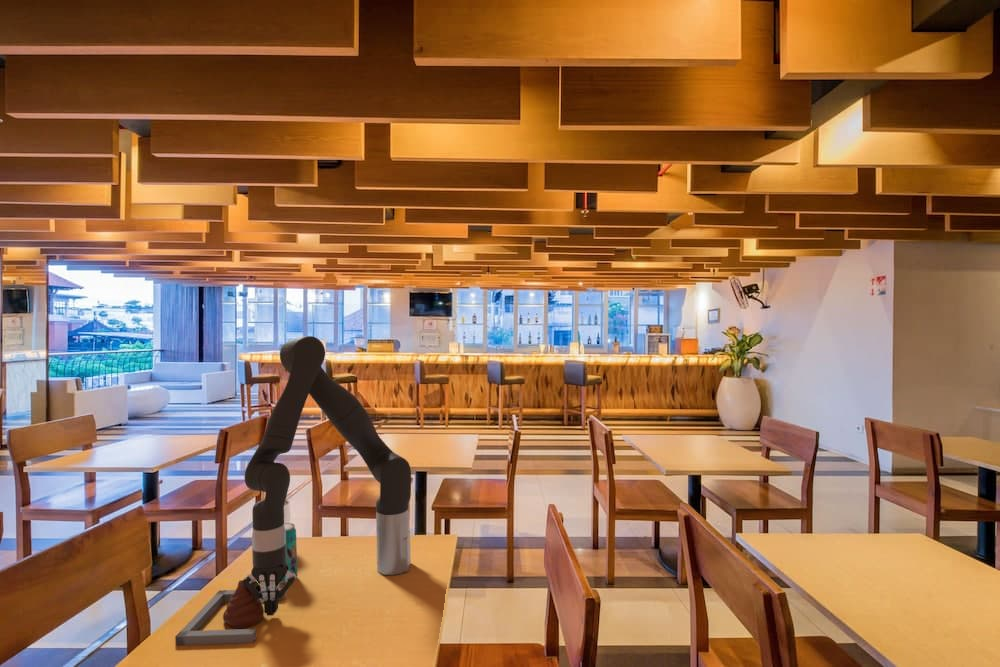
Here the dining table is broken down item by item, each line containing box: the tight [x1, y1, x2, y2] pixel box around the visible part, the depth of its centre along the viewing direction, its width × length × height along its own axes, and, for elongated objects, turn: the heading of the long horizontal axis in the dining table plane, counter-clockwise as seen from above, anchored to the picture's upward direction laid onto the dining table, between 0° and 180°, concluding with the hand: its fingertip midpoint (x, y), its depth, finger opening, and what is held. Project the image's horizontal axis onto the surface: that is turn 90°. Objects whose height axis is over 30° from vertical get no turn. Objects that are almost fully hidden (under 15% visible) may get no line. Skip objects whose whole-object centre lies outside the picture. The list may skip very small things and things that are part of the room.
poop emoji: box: [222, 579, 265, 629], centre depth 129 cm, size 10×8×9 cm
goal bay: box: [174, 588, 286, 646], centre depth 129 cm, size 17×20×2 cm
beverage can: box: [280, 522, 298, 584], centre depth 148 cm, size 6×6×15 cm
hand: (271, 613), depth 129 cm, fingers closed
